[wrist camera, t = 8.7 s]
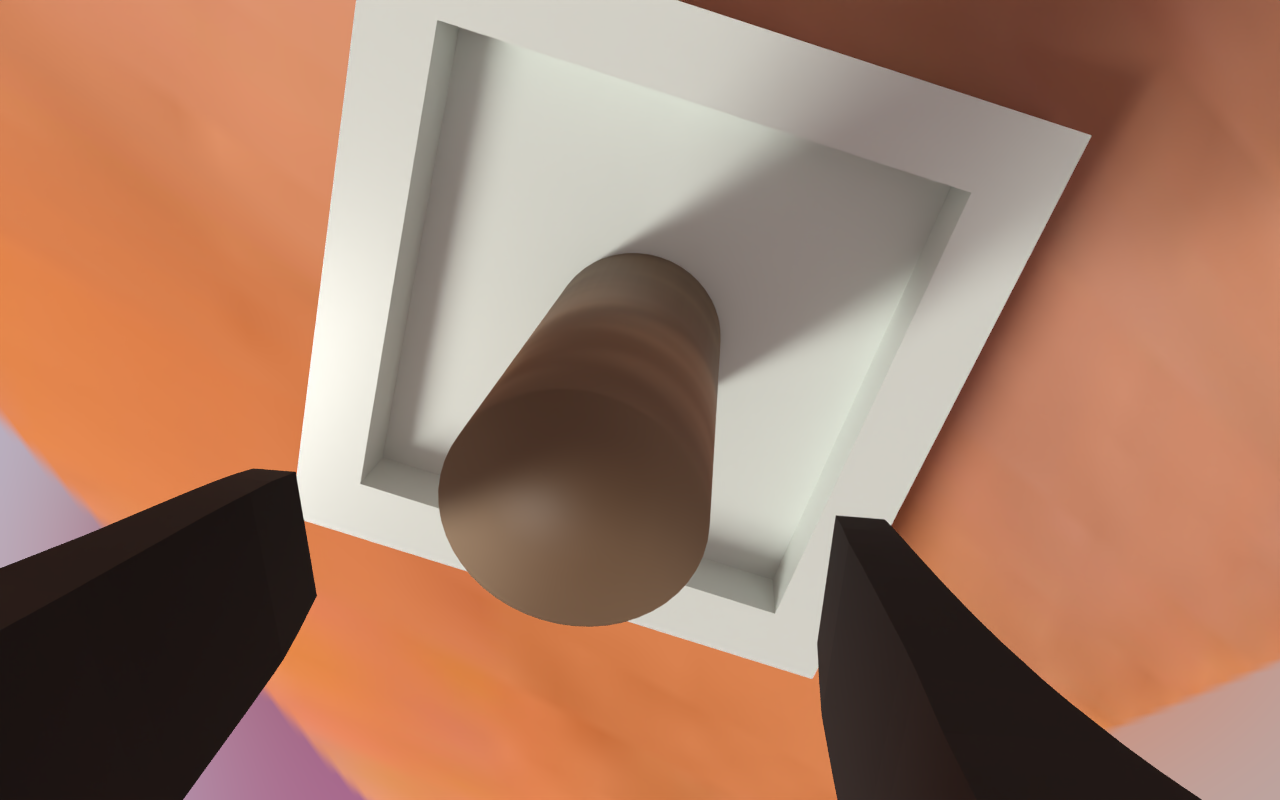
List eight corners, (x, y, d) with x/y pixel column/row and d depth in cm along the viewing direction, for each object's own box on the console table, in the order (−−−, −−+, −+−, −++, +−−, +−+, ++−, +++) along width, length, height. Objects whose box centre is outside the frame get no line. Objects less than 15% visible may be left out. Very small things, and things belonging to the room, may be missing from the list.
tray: (1052, 126, 17) (1091, 135, 15) (806, 628, 22) (812, 678, 21) (409, -84, 16) (369, -101, 15) (327, 478, 22) (291, 516, 20)
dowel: (725, 256, 18) (718, 397, 11) (715, 418, 20) (702, 637, 12) (550, 249, 18) (426, 380, 11) (554, 408, 20) (449, 614, 13)
